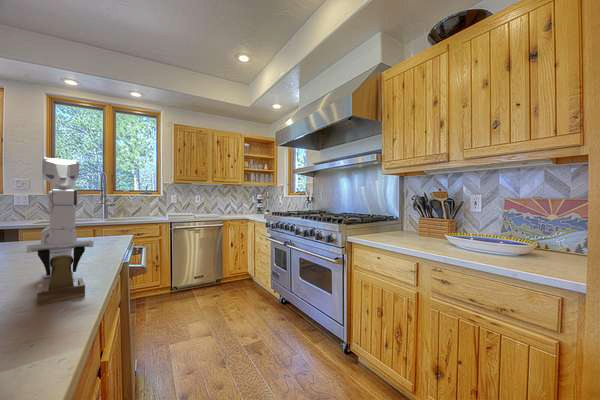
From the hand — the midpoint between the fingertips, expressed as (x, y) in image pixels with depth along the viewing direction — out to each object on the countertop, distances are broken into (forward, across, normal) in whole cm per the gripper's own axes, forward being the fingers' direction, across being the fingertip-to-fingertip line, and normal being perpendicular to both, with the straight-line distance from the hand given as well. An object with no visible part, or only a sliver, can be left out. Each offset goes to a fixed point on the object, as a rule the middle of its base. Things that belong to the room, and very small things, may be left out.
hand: (61, 273), depth 76 cm
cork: (+6, 0, 0) cm, 6 cm away
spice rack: (+7, 0, -1) cm, 7 cm away
